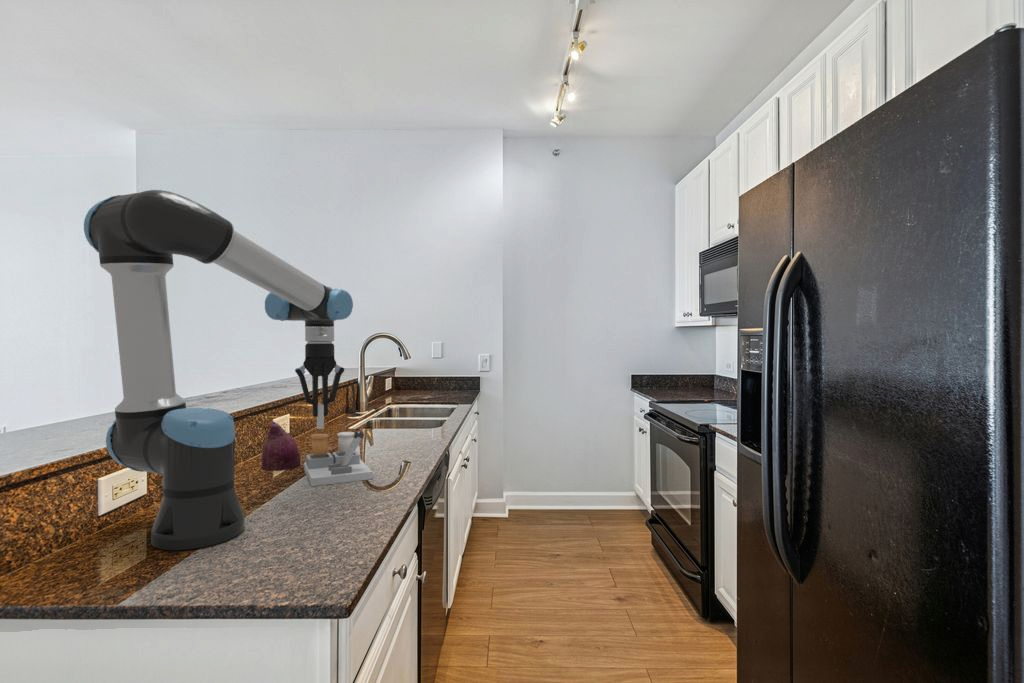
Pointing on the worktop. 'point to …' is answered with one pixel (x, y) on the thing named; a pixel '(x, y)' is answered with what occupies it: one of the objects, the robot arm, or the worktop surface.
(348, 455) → the lever
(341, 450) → the plunger white
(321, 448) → the plunger orange
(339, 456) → the panel
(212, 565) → the worktop surface
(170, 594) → the worktop surface
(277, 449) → the vegetable
